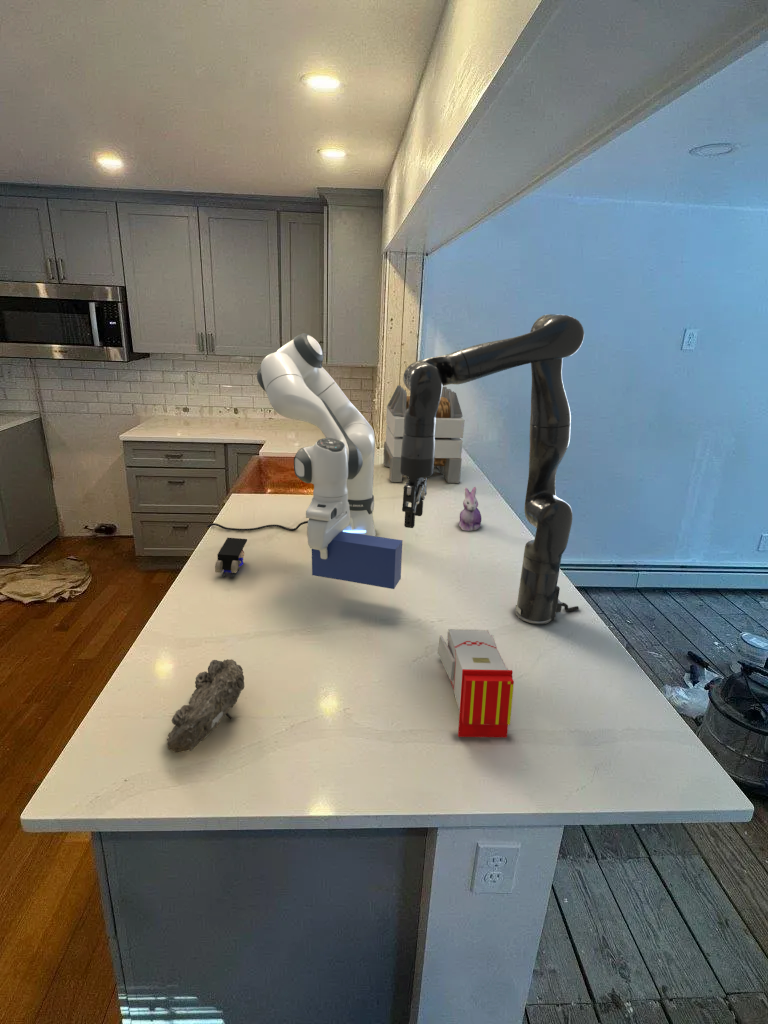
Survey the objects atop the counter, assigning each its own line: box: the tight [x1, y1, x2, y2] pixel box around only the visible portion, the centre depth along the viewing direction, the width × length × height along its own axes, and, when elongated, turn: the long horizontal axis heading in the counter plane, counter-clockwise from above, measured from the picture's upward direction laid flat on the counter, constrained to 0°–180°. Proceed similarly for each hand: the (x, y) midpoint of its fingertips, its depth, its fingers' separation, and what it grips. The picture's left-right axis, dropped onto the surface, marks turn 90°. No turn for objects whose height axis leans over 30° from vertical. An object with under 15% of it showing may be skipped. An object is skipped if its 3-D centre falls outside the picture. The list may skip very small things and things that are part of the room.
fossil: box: [166, 658, 245, 754], centre depth 106 cm, size 22×10×15 cm
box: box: [311, 531, 403, 590], centre depth 148 cm, size 23×6×11 cm, turn 73°
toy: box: [437, 628, 515, 738], centre depth 117 cm, size 12×13×30 cm
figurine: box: [458, 486, 482, 532], centre depth 206 cm, size 9×10×15 cm
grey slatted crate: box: [383, 384, 465, 484], centre depth 268 cm, size 34×33×41 cm
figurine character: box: [214, 537, 248, 578], centre depth 166 cm, size 7×8×15 cm
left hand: (330, 552), depth 150 cm, fingers closed on box, 6 cm apart
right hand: (413, 521), depth 133 cm, fingers open, 8 cm apart
